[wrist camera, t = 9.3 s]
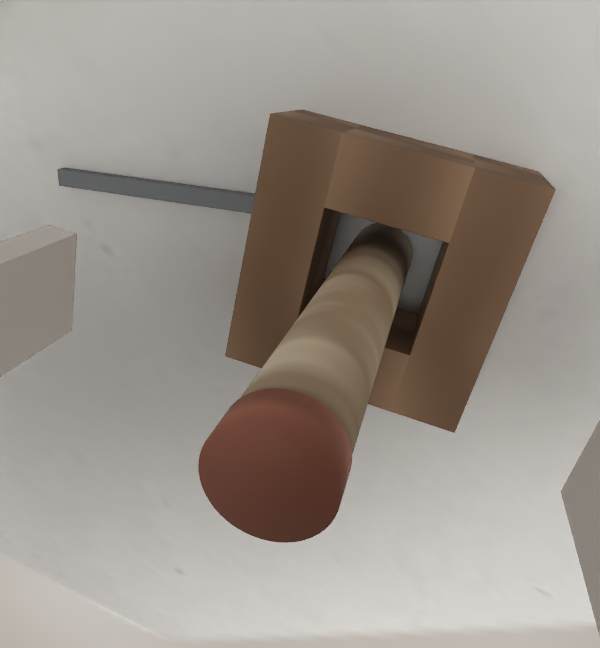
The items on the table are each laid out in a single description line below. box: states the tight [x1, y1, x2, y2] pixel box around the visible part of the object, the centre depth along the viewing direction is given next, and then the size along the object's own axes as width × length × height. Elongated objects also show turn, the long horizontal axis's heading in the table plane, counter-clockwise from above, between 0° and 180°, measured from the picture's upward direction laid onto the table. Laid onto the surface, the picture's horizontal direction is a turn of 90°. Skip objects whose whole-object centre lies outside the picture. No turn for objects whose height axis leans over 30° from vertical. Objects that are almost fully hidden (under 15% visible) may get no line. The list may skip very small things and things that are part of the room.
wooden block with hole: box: [225, 110, 555, 432], centre depth 21 cm, size 9×9×4 cm
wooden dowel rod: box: [199, 223, 412, 542], centre depth 16 cm, size 2×2×15 cm
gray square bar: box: [58, 168, 255, 213], centre depth 24 cm, size 10×1×1 cm, turn 85°
